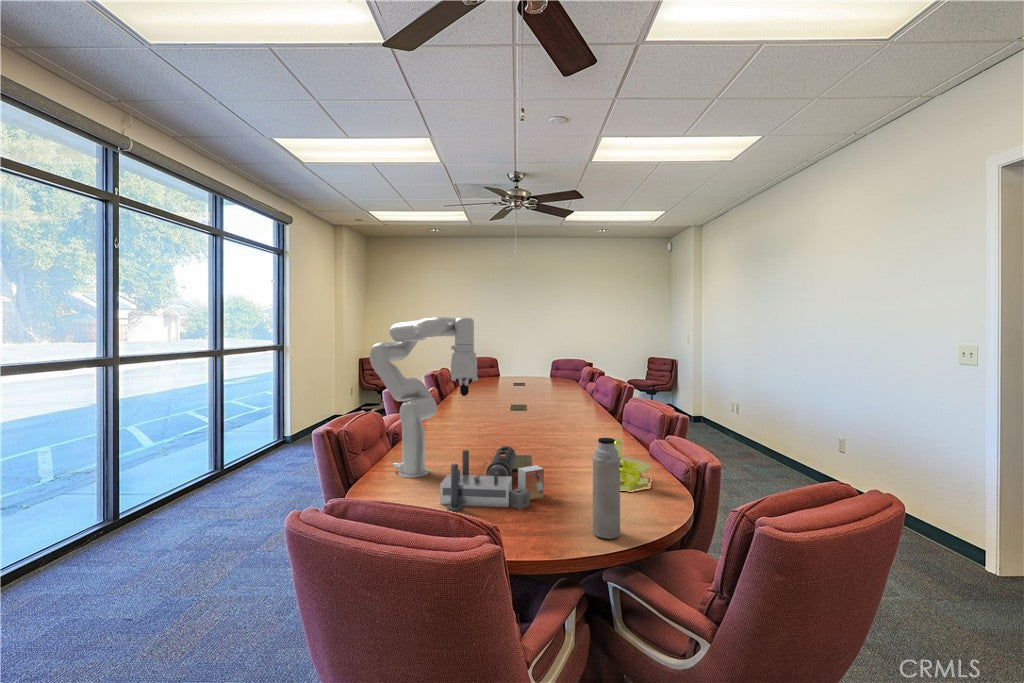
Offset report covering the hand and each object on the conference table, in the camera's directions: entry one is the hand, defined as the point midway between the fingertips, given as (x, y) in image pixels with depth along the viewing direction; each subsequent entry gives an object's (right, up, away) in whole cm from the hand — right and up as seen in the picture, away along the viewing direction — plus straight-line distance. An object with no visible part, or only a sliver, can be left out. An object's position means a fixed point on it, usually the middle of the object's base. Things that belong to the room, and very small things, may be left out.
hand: (464, 395), depth 173 cm
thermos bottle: (+47, -36, -42) cm, 73 cm away
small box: (+26, -36, -13) cm, 46 cm away
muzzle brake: (+15, -35, +7) cm, 39 cm away
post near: (-1, -35, -25) cm, 43 cm away
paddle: (+6, -27, -16) cm, 32 cm away
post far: (+1, -35, -7) cm, 36 cm away
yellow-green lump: (+66, -36, +4) cm, 75 cm away
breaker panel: (+6, -35, -16) cm, 39 cm away
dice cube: (+21, -36, -22) cm, 47 cm away
